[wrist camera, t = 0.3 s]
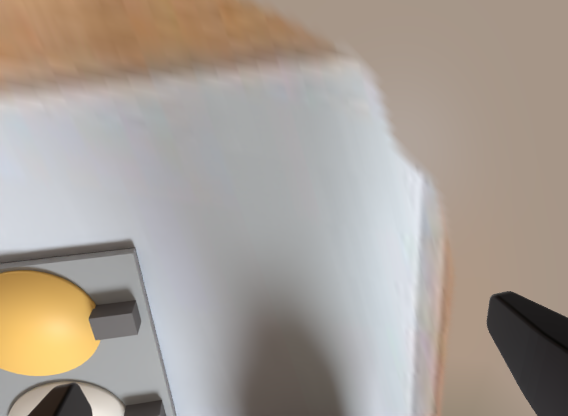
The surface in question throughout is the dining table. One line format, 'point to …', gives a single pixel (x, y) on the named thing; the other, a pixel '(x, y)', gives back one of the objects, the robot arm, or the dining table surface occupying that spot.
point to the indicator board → (80, 335)
